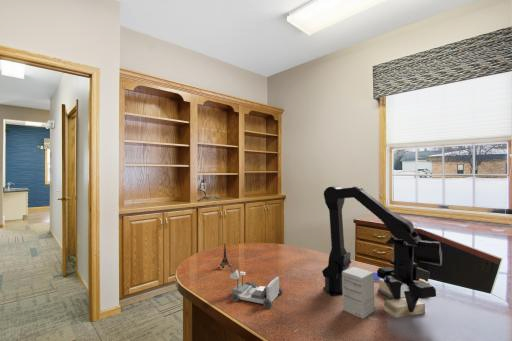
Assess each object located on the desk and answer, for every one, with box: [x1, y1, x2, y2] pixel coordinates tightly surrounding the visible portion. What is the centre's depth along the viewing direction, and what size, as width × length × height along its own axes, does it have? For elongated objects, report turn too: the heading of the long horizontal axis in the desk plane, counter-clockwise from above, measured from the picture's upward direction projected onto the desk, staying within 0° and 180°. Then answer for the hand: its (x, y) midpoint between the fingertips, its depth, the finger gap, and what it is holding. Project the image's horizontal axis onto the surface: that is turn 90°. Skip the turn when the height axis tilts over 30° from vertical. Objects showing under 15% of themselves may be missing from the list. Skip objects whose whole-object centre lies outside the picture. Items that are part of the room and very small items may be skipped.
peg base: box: [377, 279, 431, 300], centre depth 99 cm, size 15×9×4 cm, turn 104°
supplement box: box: [342, 266, 376, 319], centre depth 86 cm, size 7×7×13 cm
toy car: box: [229, 269, 283, 309], centre depth 97 cm, size 18×10×12 cm
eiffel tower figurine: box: [219, 243, 232, 268], centre depth 129 cm, size 15×10×13 cm
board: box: [383, 298, 426, 318], centre depth 86 cm, size 11×5×3 cm, turn 104°
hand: (404, 307), depth 86 cm, fingers closed on board, 5 cm apart
